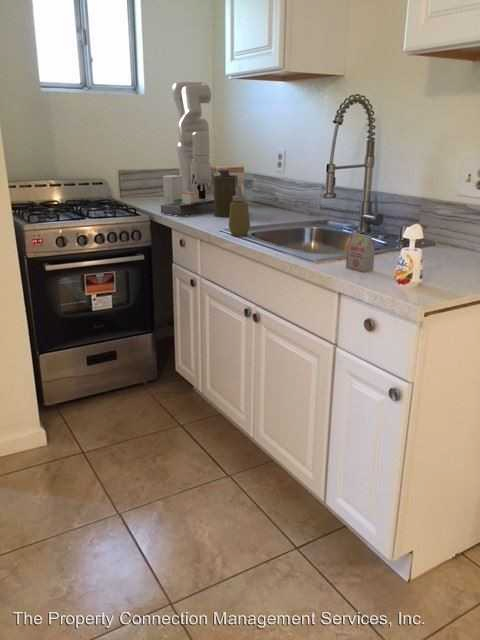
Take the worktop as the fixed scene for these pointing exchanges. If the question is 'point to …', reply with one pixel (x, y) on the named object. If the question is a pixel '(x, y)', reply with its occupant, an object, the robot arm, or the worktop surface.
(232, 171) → the coffeecake box
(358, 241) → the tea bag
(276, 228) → the worktop surface
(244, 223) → the squeeze bottle
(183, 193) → the block
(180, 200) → the skincare box
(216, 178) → the canister
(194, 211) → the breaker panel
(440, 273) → the worktop surface
